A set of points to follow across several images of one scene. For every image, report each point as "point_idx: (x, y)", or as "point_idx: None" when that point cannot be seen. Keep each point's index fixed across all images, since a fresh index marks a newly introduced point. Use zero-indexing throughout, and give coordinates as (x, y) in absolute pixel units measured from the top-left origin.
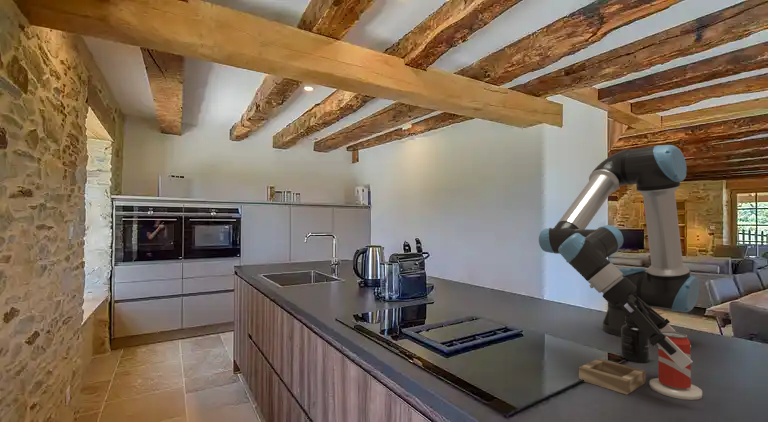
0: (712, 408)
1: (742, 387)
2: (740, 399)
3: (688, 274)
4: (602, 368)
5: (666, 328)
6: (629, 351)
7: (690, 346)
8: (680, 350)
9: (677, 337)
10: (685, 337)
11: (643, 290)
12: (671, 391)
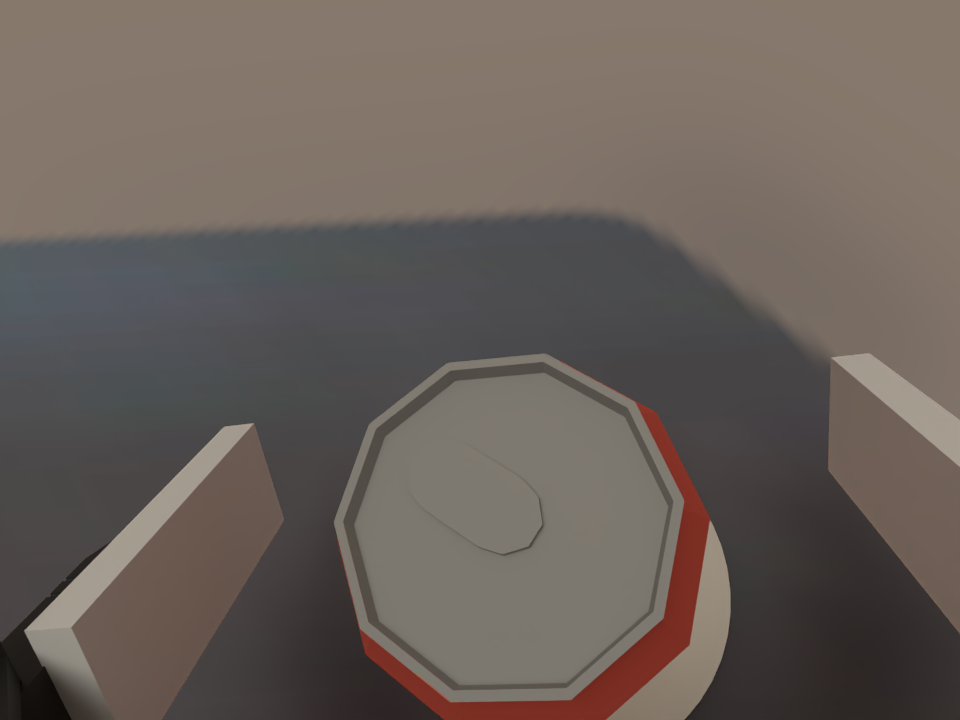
0: (722, 378)
1: (248, 291)
2: (454, 286)
3: None
4: None
5: (111, 654)
6: None
7: (251, 429)
8: (953, 416)
9: (658, 452)
10: (574, 370)
11: None
12: (701, 591)
